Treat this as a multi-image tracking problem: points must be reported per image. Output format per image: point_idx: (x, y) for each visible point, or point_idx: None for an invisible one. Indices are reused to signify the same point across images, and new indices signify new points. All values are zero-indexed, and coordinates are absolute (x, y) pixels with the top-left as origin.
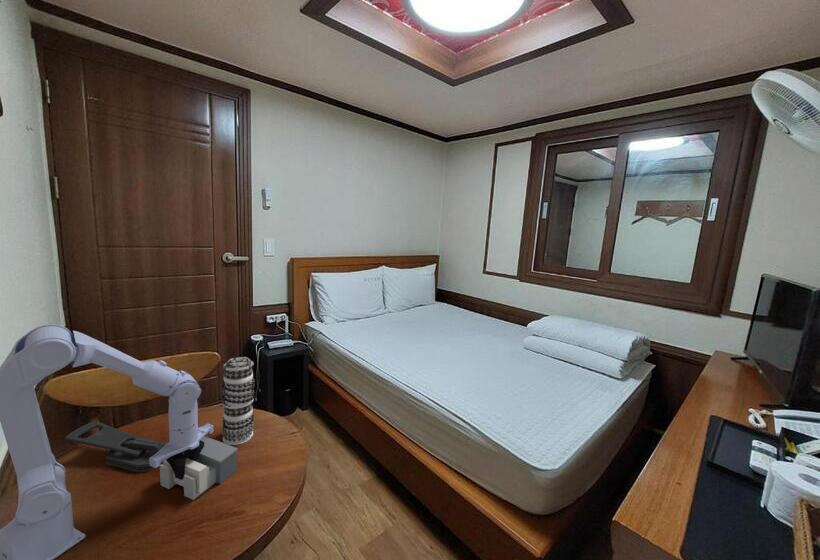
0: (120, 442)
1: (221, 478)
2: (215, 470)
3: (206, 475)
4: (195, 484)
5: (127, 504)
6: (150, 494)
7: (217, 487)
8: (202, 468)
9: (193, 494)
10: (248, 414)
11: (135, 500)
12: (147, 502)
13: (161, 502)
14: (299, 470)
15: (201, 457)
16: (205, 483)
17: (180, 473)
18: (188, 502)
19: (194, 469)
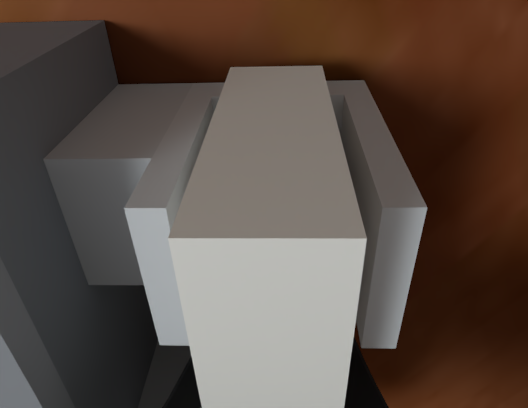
0: None
1: (65, 35)
2: (63, 145)
3: (215, 137)
4: (362, 149)
5: (502, 378)
6: (410, 350)
7: (147, 9)
8: (266, 258)
9: (373, 101)
10: None
11: (469, 371)
12: (468, 320)
13: (449, 261)
14: None
15: (85, 397)
16: (245, 92)
17: (378, 390)
18: (396, 97)
19: (350, 342)
